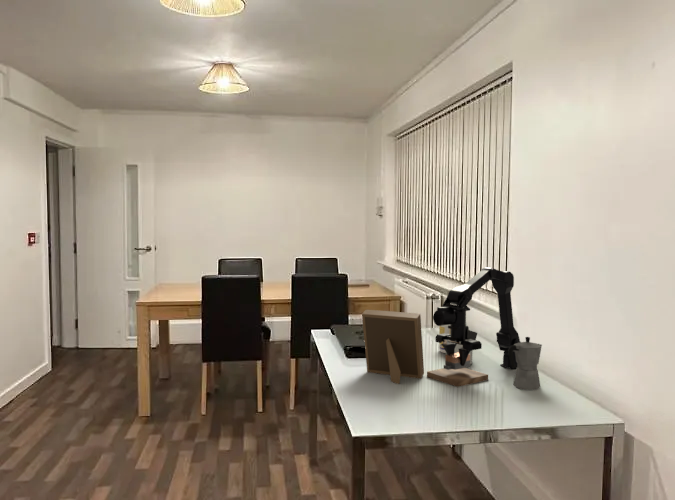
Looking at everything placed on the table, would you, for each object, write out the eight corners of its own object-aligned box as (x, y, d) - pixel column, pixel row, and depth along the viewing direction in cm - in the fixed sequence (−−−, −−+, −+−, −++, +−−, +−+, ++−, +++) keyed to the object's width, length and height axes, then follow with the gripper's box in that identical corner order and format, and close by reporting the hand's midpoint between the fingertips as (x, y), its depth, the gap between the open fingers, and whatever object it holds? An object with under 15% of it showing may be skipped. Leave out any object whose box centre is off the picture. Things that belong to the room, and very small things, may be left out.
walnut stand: (456, 370, 231) (456, 365, 231) (488, 379, 217) (488, 374, 217) (426, 376, 222) (427, 371, 222) (457, 386, 208) (457, 381, 208)
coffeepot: (530, 380, 216) (531, 333, 215) (550, 387, 208) (551, 337, 207) (498, 386, 210) (499, 336, 209) (517, 393, 201) (518, 341, 200)
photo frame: (371, 369, 232) (371, 307, 230) (424, 375, 223) (424, 311, 221) (356, 379, 219) (356, 313, 217) (412, 386, 210) (412, 317, 208)
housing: (469, 366, 220) (470, 354, 219) (450, 370, 214) (451, 358, 214) (460, 363, 224) (460, 352, 223) (441, 367, 218) (441, 355, 218)
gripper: (492, 324, 215) (491, 366, 216) (455, 317, 231) (454, 356, 232) (471, 328, 209) (470, 370, 210) (434, 320, 224) (434, 360, 225)
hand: (457, 364), depth 219 cm, fingers closed on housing, 5 cm apart
